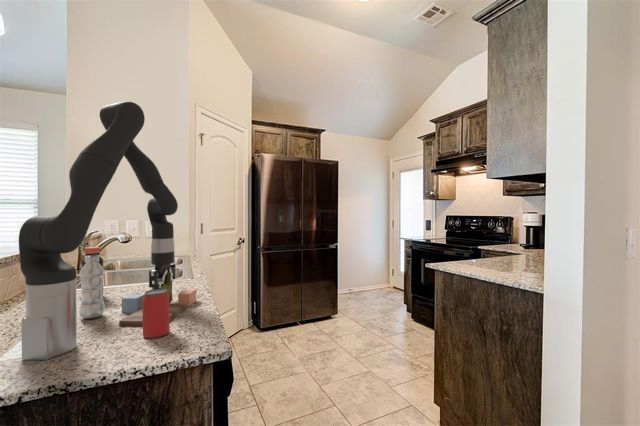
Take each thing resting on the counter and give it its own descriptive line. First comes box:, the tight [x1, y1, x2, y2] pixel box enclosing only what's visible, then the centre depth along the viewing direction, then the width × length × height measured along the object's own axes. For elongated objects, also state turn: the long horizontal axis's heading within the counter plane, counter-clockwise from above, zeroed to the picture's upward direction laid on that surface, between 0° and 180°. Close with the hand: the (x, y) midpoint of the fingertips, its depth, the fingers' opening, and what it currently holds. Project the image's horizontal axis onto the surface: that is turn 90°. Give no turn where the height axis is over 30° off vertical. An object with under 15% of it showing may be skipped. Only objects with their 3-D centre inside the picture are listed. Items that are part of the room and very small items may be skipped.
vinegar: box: [81, 246, 104, 293], centre depth 118 cm, size 7×7×20 cm
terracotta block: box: [177, 288, 197, 307], centre depth 111 cm, size 6×4×4 cm, turn 0°
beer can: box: [142, 289, 170, 339], centre depth 83 cm, size 7×7×12 cm
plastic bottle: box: [79, 254, 106, 320], centre depth 96 cm, size 6×7×20 cm
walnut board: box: [118, 303, 188, 327], centre depth 97 cm, size 16×13×2 cm
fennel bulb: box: [153, 273, 173, 304], centre depth 109 cm, size 6×5×12 cm
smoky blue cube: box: [121, 293, 145, 314], centre depth 103 cm, size 5×5×5 cm
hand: (163, 295), depth 109 cm, fingers open, 7 cm apart
